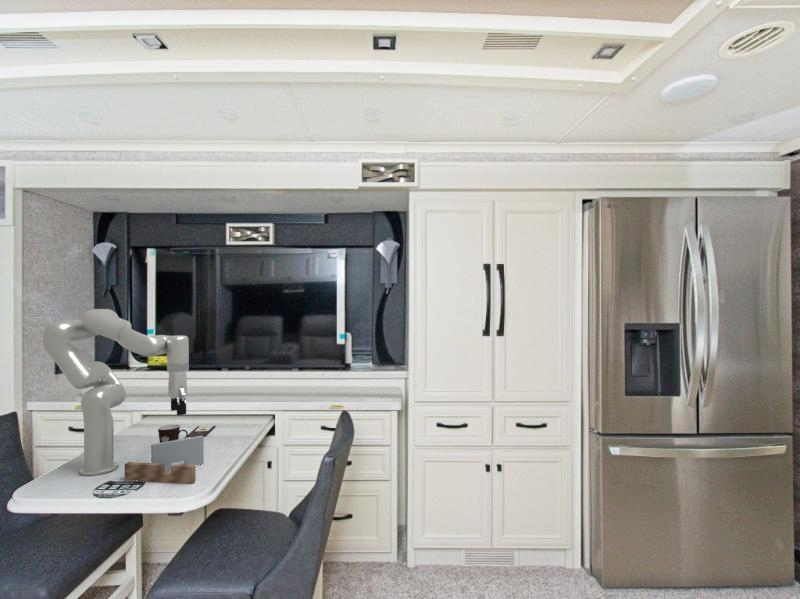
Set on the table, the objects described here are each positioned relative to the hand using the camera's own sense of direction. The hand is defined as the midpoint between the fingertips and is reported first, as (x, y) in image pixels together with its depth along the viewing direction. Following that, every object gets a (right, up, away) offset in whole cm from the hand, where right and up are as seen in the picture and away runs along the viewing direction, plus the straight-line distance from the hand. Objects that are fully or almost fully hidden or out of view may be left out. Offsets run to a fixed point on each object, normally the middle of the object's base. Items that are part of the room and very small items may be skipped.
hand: (178, 412), depth 178 cm
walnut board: (-1, -22, -12) cm, 25 cm away
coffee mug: (-14, -22, +22) cm, 34 cm away
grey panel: (0, -22, 0) cm, 22 cm away
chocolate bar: (-13, -23, +51) cm, 57 cm away
